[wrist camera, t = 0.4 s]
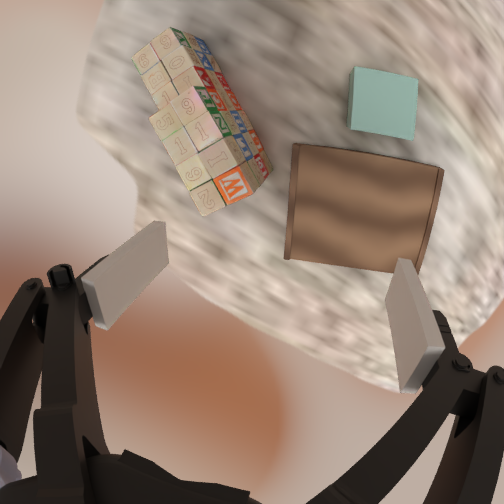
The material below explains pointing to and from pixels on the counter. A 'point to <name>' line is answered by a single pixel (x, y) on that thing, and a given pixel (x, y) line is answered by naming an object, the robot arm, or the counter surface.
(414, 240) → the board
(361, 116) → the cube
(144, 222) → the counter surface
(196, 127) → the stack of blocks
